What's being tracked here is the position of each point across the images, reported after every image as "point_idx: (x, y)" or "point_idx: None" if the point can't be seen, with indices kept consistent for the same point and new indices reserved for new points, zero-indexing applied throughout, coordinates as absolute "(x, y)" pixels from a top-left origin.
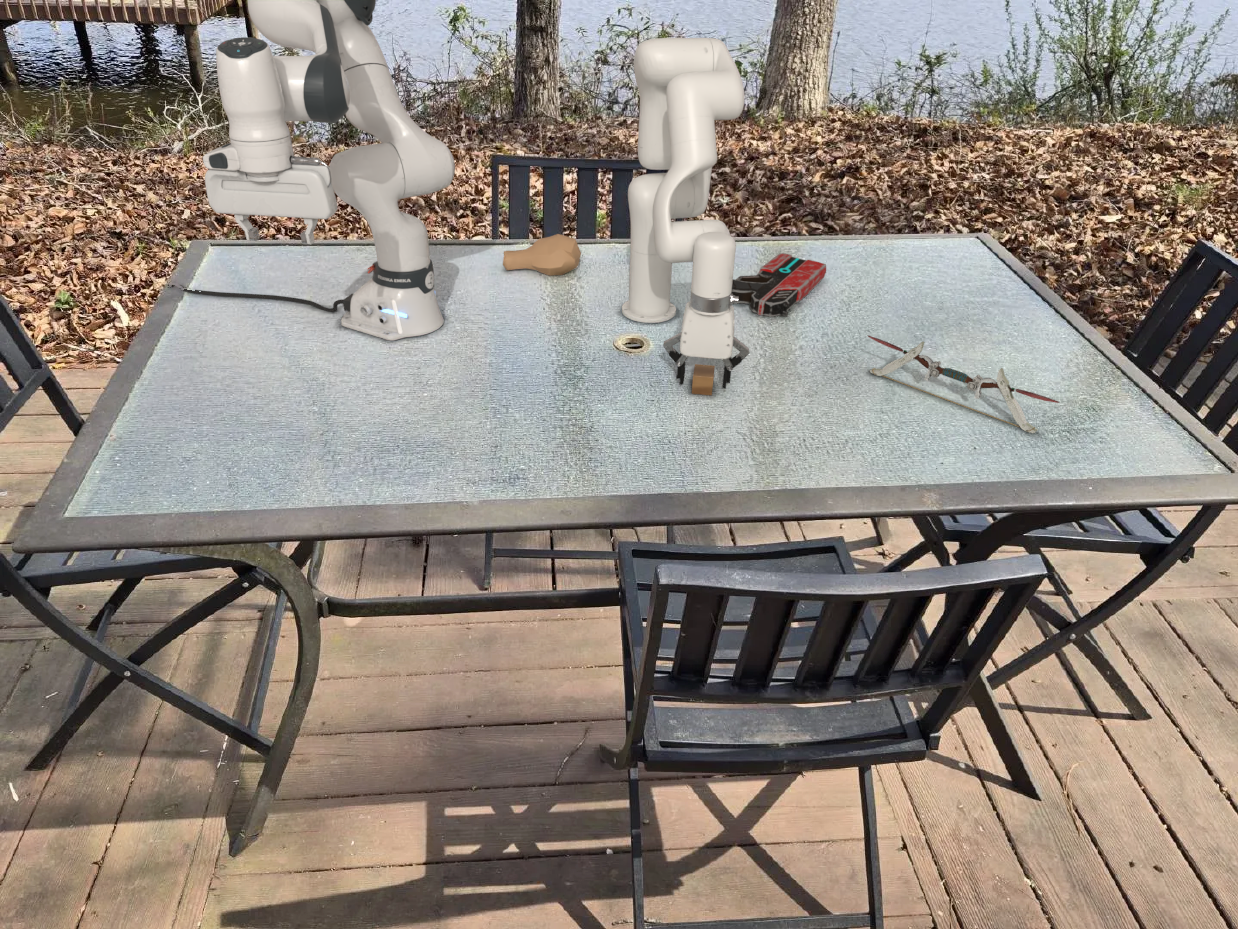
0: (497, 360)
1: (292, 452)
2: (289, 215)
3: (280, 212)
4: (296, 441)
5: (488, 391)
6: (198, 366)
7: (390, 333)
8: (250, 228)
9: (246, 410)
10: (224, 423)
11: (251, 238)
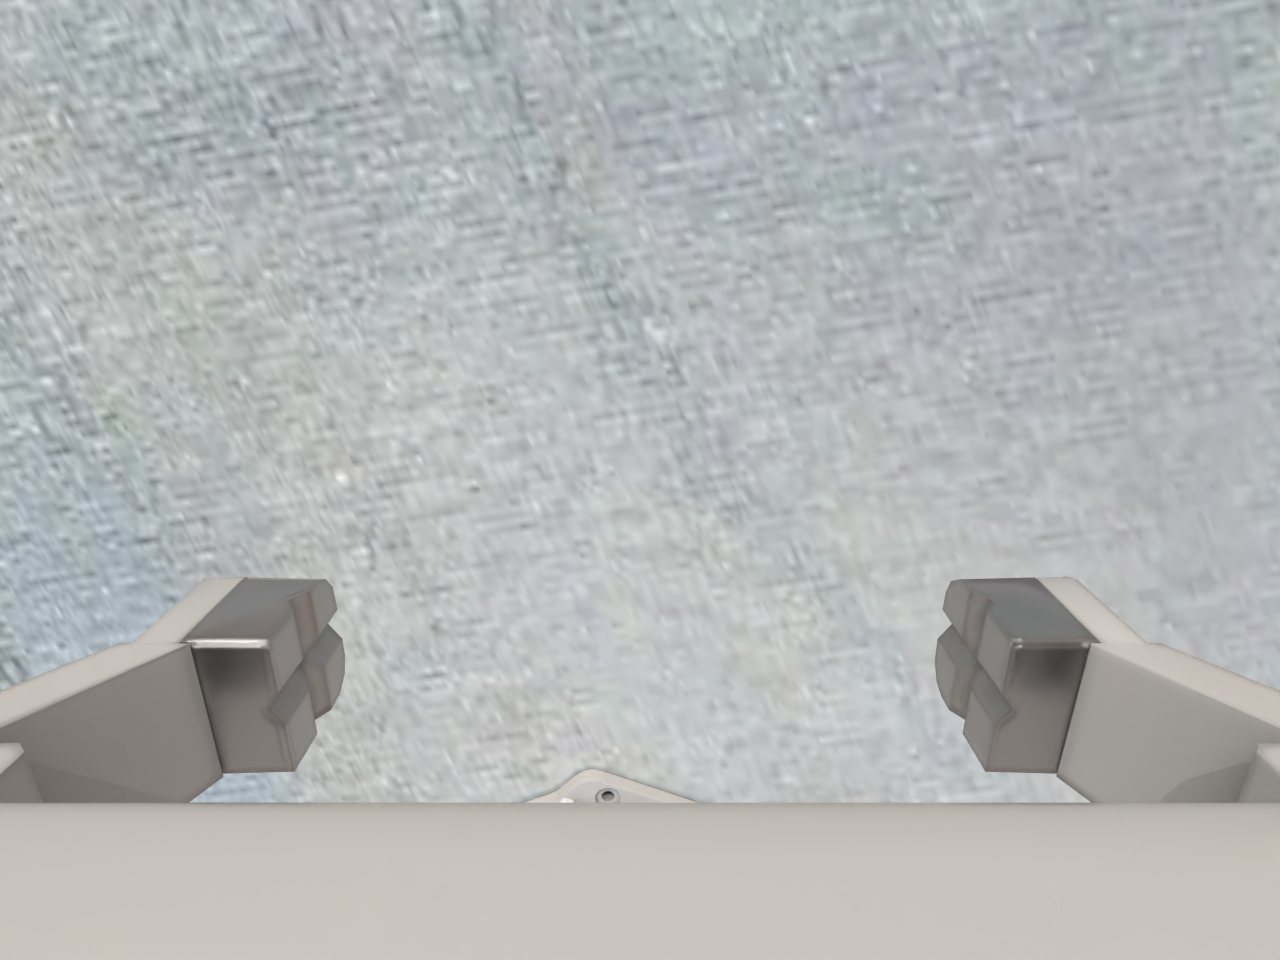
0: None
1: (612, 19)
2: (129, 821)
3: (315, 867)
4: (629, 100)
5: (157, 526)
6: (1147, 536)
7: (600, 797)
8: (1080, 718)
9: (884, 281)
10: (928, 180)
11: (1009, 582)
